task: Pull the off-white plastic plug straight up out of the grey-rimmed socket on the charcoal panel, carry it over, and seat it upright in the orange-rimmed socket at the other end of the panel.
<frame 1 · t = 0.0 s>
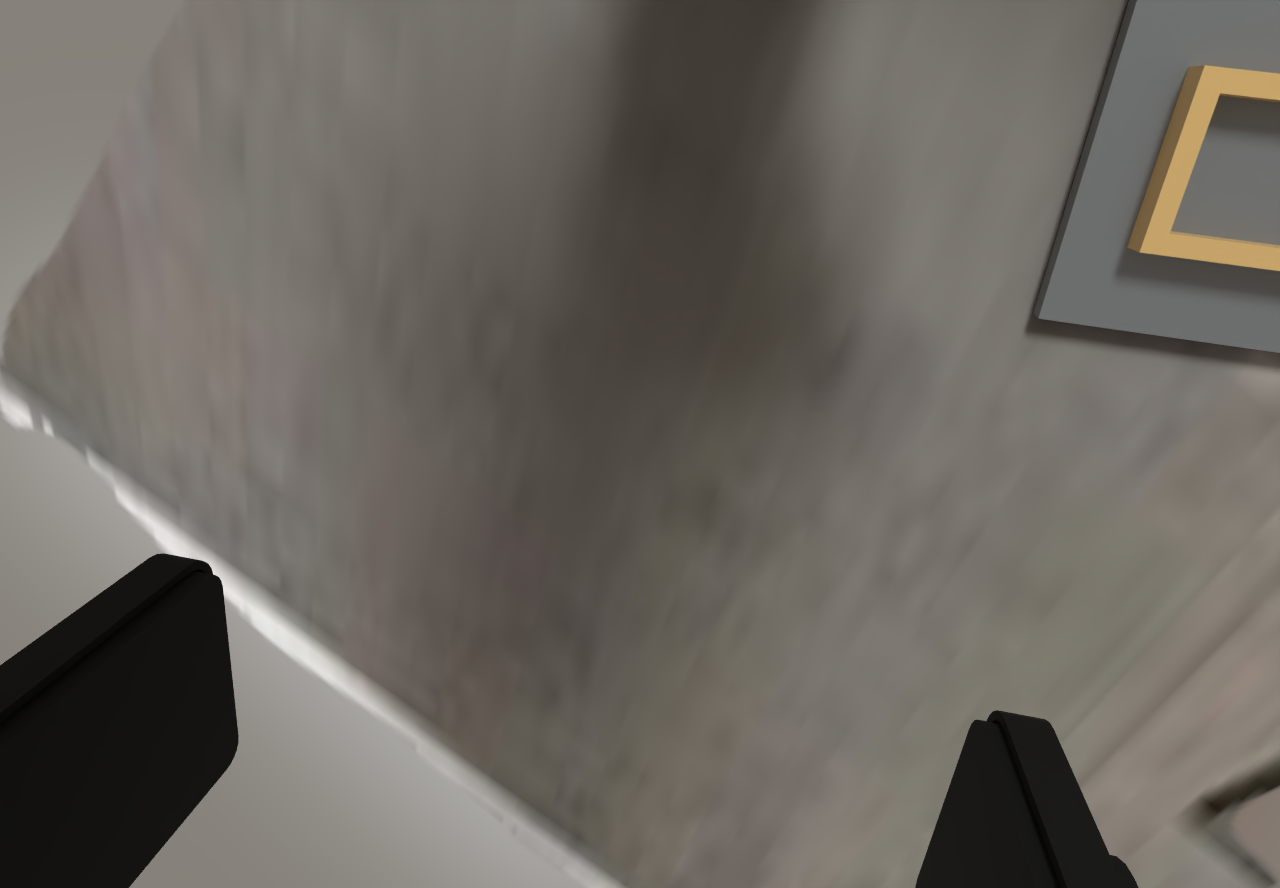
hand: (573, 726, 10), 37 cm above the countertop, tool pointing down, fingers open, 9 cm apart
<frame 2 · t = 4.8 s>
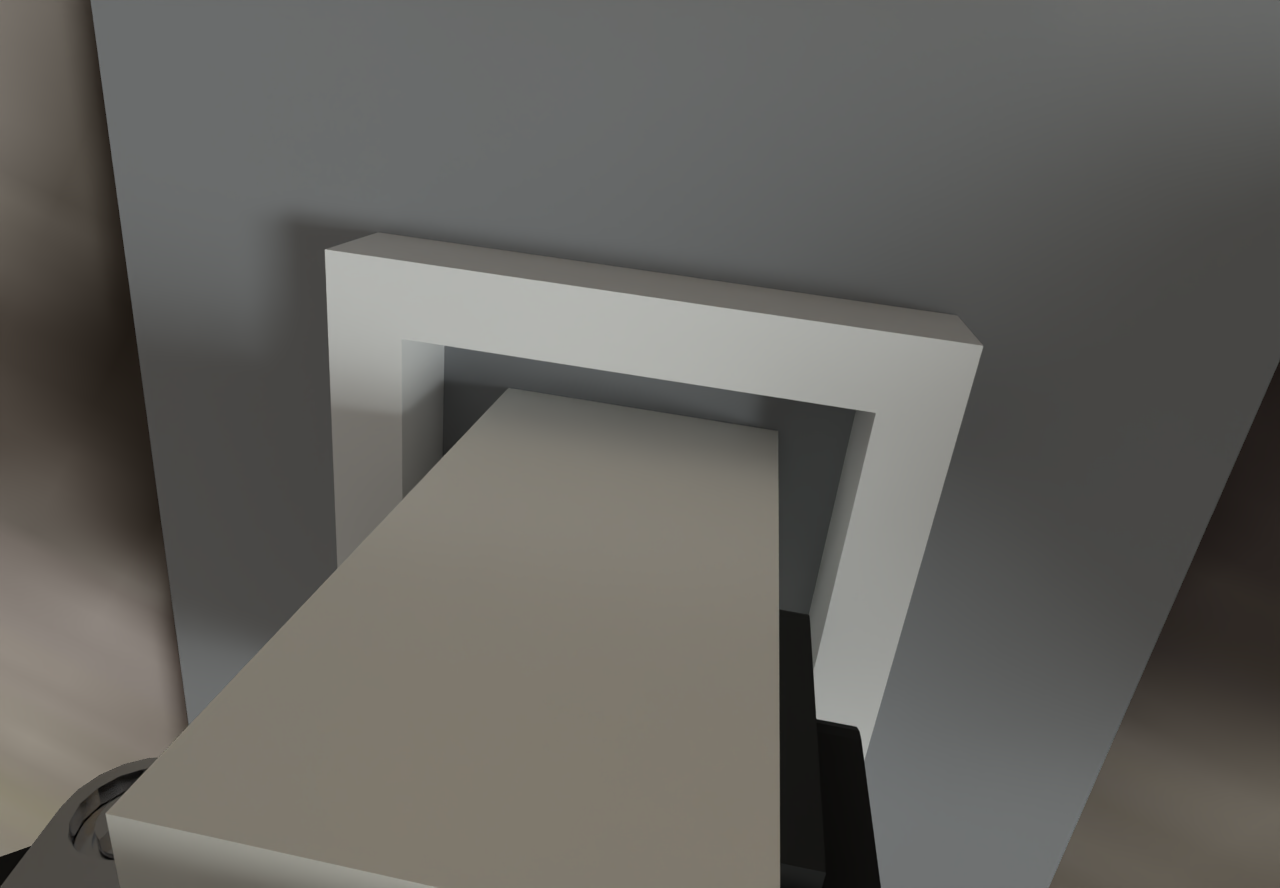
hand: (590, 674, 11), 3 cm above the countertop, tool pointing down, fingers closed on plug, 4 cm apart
socket panel: (684, 114, 11), on the countertop
plug: (620, 583, 13), point 1 cm above the countertop, touching gripper, socket panel
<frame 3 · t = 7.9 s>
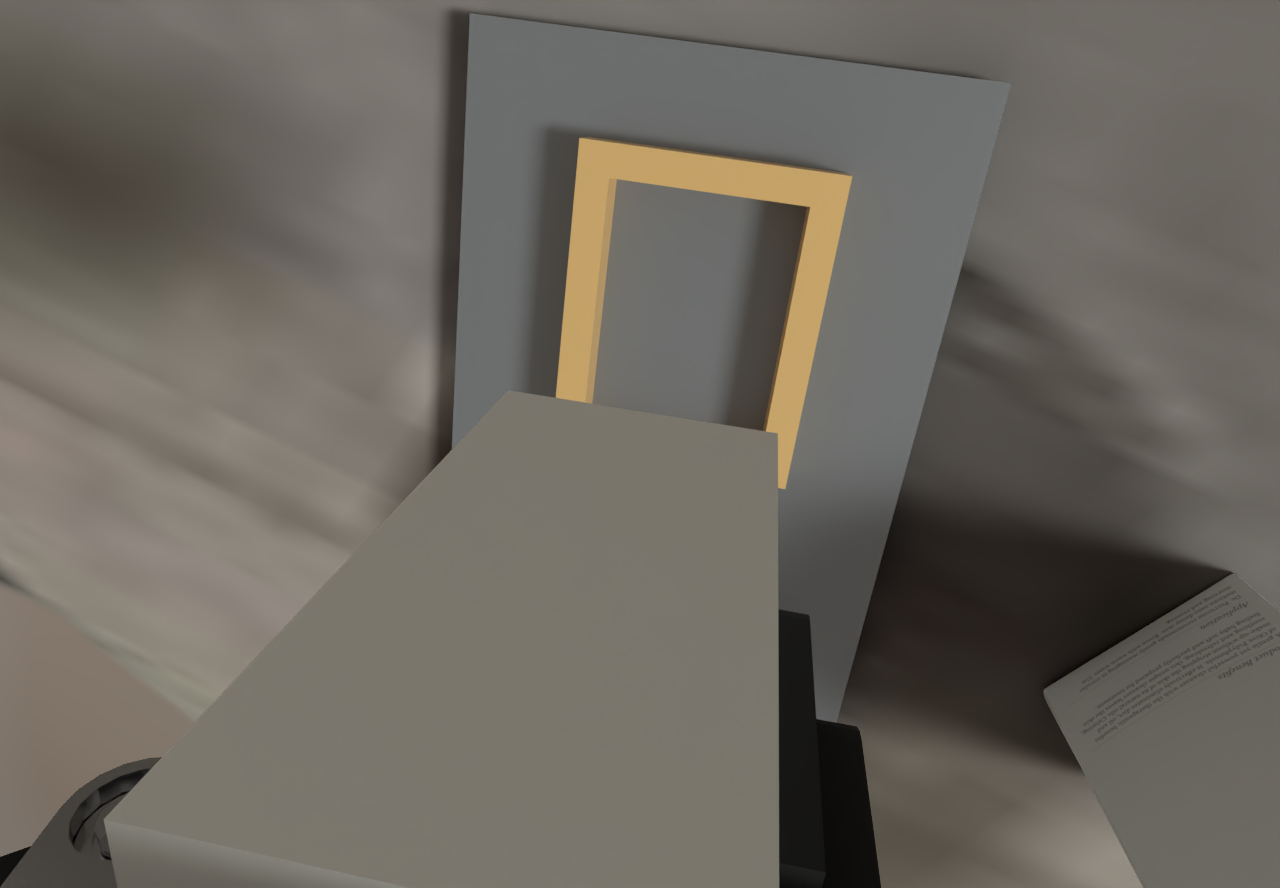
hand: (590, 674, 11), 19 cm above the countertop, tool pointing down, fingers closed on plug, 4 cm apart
socket panel: (666, 490, 31), on the countertop
plug: (619, 585, 13), point 17 cm above the countertop, touching gripper
skincare box: (1178, 676, 31), on the countertop
when the fingers open (4 cm above the countertop, at t = 11.3 s): plug stays where it is, resting on socket panel.
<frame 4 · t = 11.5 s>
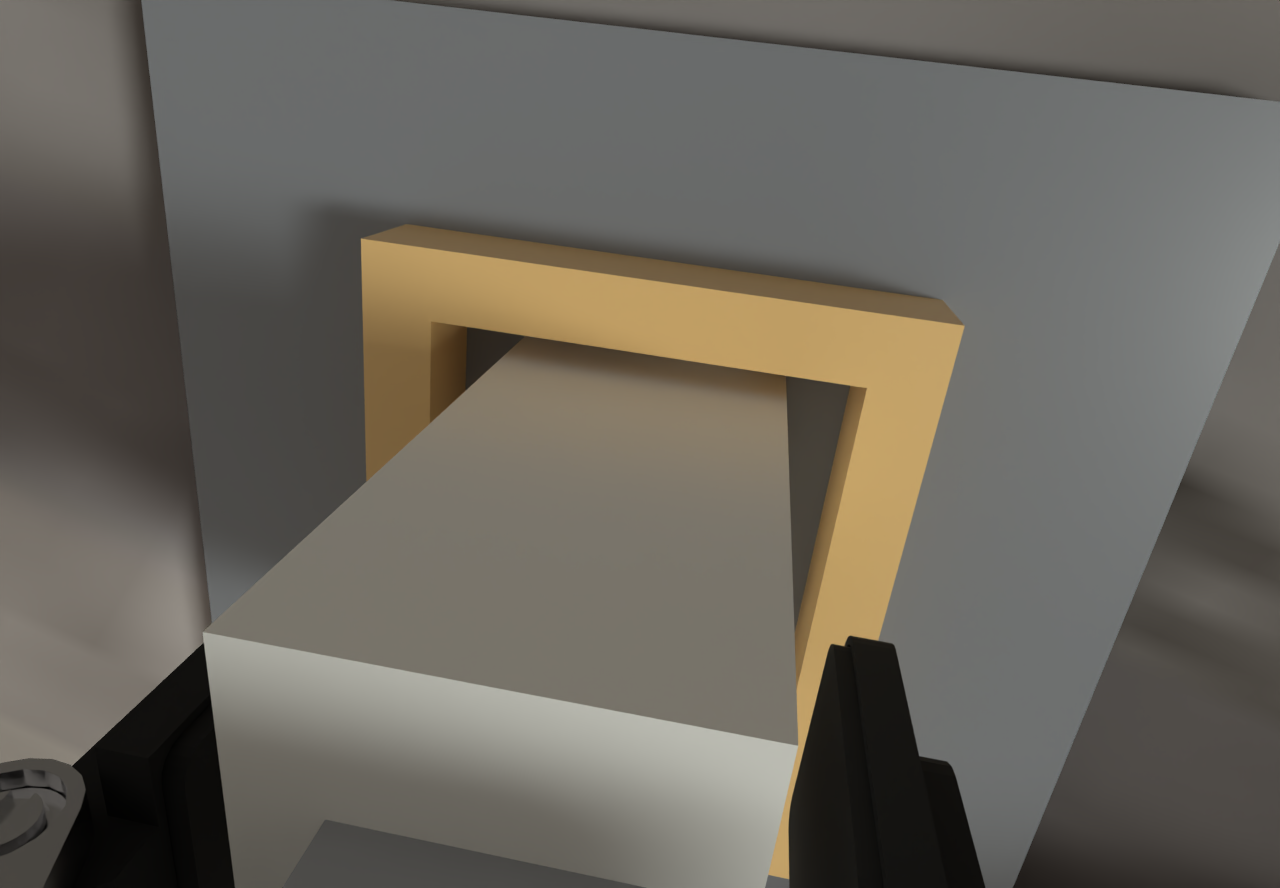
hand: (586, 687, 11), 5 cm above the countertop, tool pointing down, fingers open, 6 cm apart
socket panel: (603, 809, 18), on the countertop
plug: (635, 521, 14), point 1 cm above the countertop, touching socket panel
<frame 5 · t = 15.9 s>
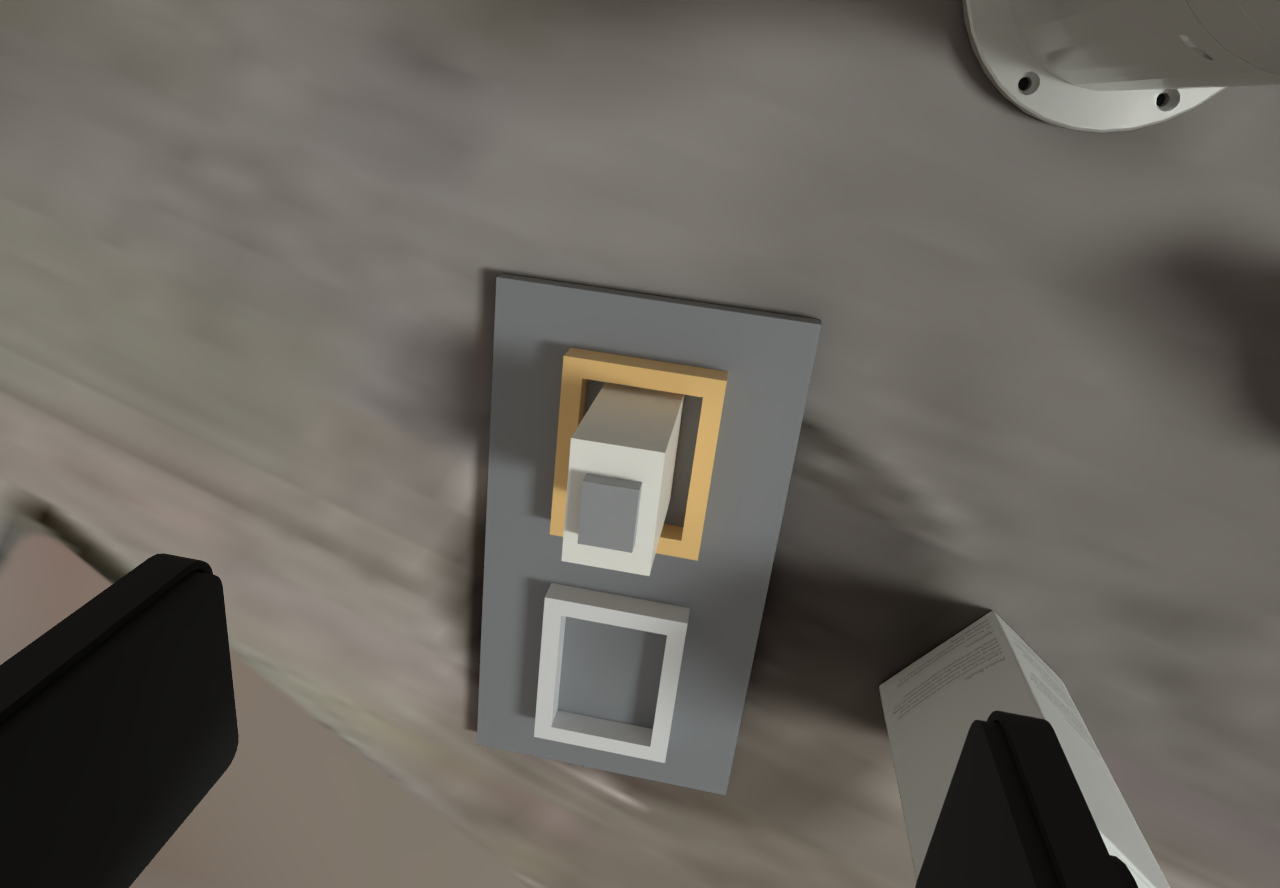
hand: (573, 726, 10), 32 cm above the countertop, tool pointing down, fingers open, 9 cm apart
socket panel: (626, 556, 47), on the countertop
plug: (639, 439, 43), point 1 cm above the countertop, touching socket panel
skincare box: (967, 676, 46), on the countertop
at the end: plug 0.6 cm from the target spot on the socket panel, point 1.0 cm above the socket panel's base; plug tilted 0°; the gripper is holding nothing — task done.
